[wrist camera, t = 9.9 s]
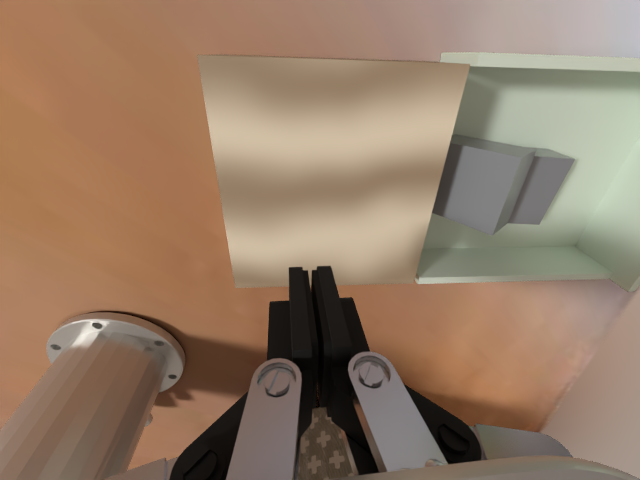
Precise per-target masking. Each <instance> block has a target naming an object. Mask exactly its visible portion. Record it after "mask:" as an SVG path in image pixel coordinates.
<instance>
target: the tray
mask: <svg viewBox="0 0 640 480" xmlns="http://www.w3.org/2000/svg"><path fill="white" fill-rule="evenodd" d="M440 62H445V63H461V64H470V68H469V71H468V75H467V79H466V83H465V87H464V91H463V95H462V98H461V102H460V106H459V110H458V114H457V118H456V122H455V125H454V129H453V133H452V136H453V135H456V134H457V135H462V136H467V137H473V138H478V139H484V140H489V141H494V142H500V143H505V144H511V145H516V146H521V147H532V148H545V149H550V150H553V151H555V152H558V153H561V154H563V155H566V156H569V157H571V158H574V159H575V161H574V162H573V164H572V166H571V168H570V170H569V172H568V173H567V175H566V177H565V179H564V181H563V182H562V184H561V186H560V188H559V190H558V192H557V193H556V195H555V197H554V199H553V201H552V202H551V204H550V206H549V208H548V210H547V212H546V213H545V215H544V217H543V219H542V221H541V222H540V224H539V225H533V224H510V223H507V224H506V225H505V226H504V227H502V228H501V229H500V230H499V231H498V232H496V233H495V234H494V235H493V236H491V235H489V234H486V233H484V232H481V231H478V230H476V229H473V228H470V227H468V226H465V225H463V224H460V223H457V222H455V221H452V220H450V219H447V218H444V217H442V216H439V215H436V214H434V213H432V214H431V218H430V222H429V226H428V229H427V233H426V237H425V241H424V245H423V249H422V252H421V256H420V260H419V264H418V268H417V272H416V276H415V280H416V282H417V284H432V283H472V282H512V281H552V280H592V279H610V280H612V281H613V282H615V283H616V284H617V285H619V286H620V287H622V288H623V289H624V290H626V291H627V292H634V291H635V290H636V289H637V288H638V287H639V285H640V58H620V57H593V56H565V55H538V54H510V53H483V52H456V53H442V55H441V59H440Z"/></svg>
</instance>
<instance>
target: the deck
mask: <svg viewBox="0 0 640 480" xmlns="http://www.w3.org/2000/svg"><path fill="white" fill-rule="evenodd" d="M197 58H198V64H199V70H200V76H201V82H202V88H203V94H204V100H205V106H206V112H207V118H208V125H209V131H210V137H211V143H212V149H213V155H214V161H215V167H216V173H217V179H218V185H219V191H220V198H221V204H222V210H223V216H224V222H225V228H226V234H227V240H228V246H229V252H230V258H231V265H232V271H233V277H234V283H235V288H247V287H287V286H289V267H302V268H303V270H308V275H309V282H310V286H311V277H312V270H317V266H331V268H332V272H333V275H334V279H335V283H336V285H368V284H408V283H414V279H415V276H416V272H417V268H418V264H419V260H420V256H421V252H422V249H423V245H424V241H425V237H426V233H427V229H428V226H429V222H430V218H431V214H432V210H433V206H434V202H435V199H436V195H437V191H438V187H439V183H440V179H441V175H442V172H443V168H444V164H445V160H446V156H447V152H448V149H449V145H450V141H451V137H452V133H453V129H454V125H455V122H456V118H457V114H458V110H459V106H460V102H461V98H462V95H463V91H464V87H465V83H466V79H467V75H468V71H469V68H470V64H461V63H445V62H427V61H398V60H368V59H338V58H308V57H279V56H249V55H197Z"/></svg>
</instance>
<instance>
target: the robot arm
mask: <svg viewBox="0 0 640 480" xmlns="http://www.w3.org/2000/svg"><path fill="white" fill-rule="evenodd" d="M47 355H48V357H49V360H50V362H51V363H52V364H51V366H50V367H49V368H48V370H47V371H46V372H45V373H44V375H43V376H42V377H41V379H40V380H39V381H38V382H37V384H36V385H35V386H34V387H33V389H32V390H31V391H30V393H29V394H28V395H27V396H26V398H25V399H24V400H23V402H22V403H21V404H20V405H19V407H18V408H17V409H16V410H15V412H14V413H13V414H12V416H11V417H10V418H9V419H8V421H7V422H6V423H5V424H4V426H3V427H2V428H1V430H0V480H298V473H299V461H300V448H301V436H302V435H303V433H304V432H305V431H306V430H307V428H308V427H309V426H310V425H311V423H312V409H313V408H316V395H317V384H318V393H319V401H320V407H321V408H324V407H326V411H327V417H331V421H332V422H333V423H335V424H336V425H337V426H338V427H340V428H341V435H342V439H343V442H344V445H345V448H346V451H347V455H348V458H349V461H350V464H351V467H352V471H353V474H354V476H351V477H343V478H335V479H327V480H640V479H639V478H637V477H634V476H632V475H630V474H628V473H625V472H623V471H620V470H618V469H615V468H612V467H609V466H606V465H603V464H600V463H597V462H593V461H588V460H584V459H580V458H573V457H572V455H571V454H570V452H569V451H568V450H567V449H566V448H565V447H564V446H563V445H562V444H560V442H558V441H557V440H555V439H553V438H552V437H550V436H548V435H545V434H541V433H538V432H531V431H524V430H517V429H510V428H503V427H496V426H489V425H482V424H475V426H474V427H472V426H468V425H466V424H465V423H464V422H463V421H461V420H460V419H458V418H457V417H455V416H454V415H452V414H450V413H449V412H447V411H446V410H444V409H443V408H441V407H439V406H438V405H436V404H435V403H433V402H431V401H430V400H428V399H427V398H425V397H423V396H422V395H420V394H419V393H417V392H415V391H414V390H412V389H411V388H409V387H408V386H406V385H404V384H403V383H402V381H401V379H400V377H399V375H398V374H397V372H396V370H395V368H394V366H393V365H392V364H391V362H390V361H389V360H388V359H386V358H385V357H384V356H382V355H380V354H378V353H374V352H370V350H369V347H368V344H367V341H366V338H365V334H364V331H363V328H362V325H361V322H360V319H359V316H358V313H357V310H356V306H355V303H354V301H353V298H352V297H350V298H339V294H338V291H337V287H336V283H335V279H334V275H333V272H332V268H331V266H317V270H312V277H311V289H310V282H309V275H308V270H303V268H302V267H289V301H272V302H270V306H269V328H268V351H267V361H266V362H264V363H263V364H261V365H260V366H259V367H258V368H257V369H256V371H255V372H254V375H253V377H252V380H251V384H250V388H249V391H248V392H247V393H246V394H245V395H244V396H243V397H241V398H240V399H239V400H238V401H237V402H236V403H235V404H234V405H233V406H232V407H231V408H230V409H228V410H227V411H226V412H225V413H224V414H223V415H222V416H221V417H220V418H219V419H218V420H217V421H215V422H214V423H213V424H212V425H211V426H210V427H209V428H208V429H207V430H206V431H205V432H203V433H202V434H201V435H200V436H199V437H198V438H197V439H196V440H195V441H194V442H193V443H192V444H190V445H189V446H188V447H187V448H186V449H185V450H184V451H183V453H182V454H181V455H180V456H179V457H176V458H173V459H171V460H168V461H166V458H163V459H160V460H157V461H154V462H151V463H148V464H145V465H142V466H140V467H137V468H134V469H131V470H128V471H127V469H128V467H129V464H130V462H131V459H132V457H133V454H134V452H135V449H136V447H137V444H138V442H139V439H140V437H141V435H142V432H143V430H144V427H145V426H148V425H149V424H150V423H151V421H152V419H153V417H152V415H151V413H150V412H151V410H152V407H153V405H154V402H155V400H156V397H157V395H158V393H160V392H162V391H164V390H167V389H169V388H170V387H172V386H173V385H174V384H175V383H176V382H177V381H178V380H179V379H180V377H181V375H182V373H183V369H184V366H185V354H184V351H183V349H182V347H181V346H180V344H179V343H178V341H177V340H176V339H175V338H174V337H173V336H172V335H171V334H169V333H168V332H167V331H165V330H164V329H162V328H161V327H159V326H157V325H155V324H153V323H151V322H149V321H146V320H144V319H141V318H138V317H134V316H130V315H126V314H119V313H111V312H96V313H88V314H82V315H79V316H76V317H73V318H71V319H69V320H67V321H65V322H63V323H62V324H61V325H60V326H59V327H58V328H57V329H56V330H55V331H54V333H53V334H52V335H51V336H50V338H49V339H48V342H47Z"/></svg>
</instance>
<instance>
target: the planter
mask: <svg viewBox="0 0 640 480" xmlns="http://www.w3.org/2000/svg"><path fill="white" fill-rule="evenodd" d="M351 476H354V474H353V471H352V467H351V464H350V461H349V458H348V455H347V451H346V448H345V445H344V442H343V439H342V435H341V428H340V427H338V426H337V425H336V424H335V423H333V422H332V421H331V417H327V411H326V407H324V408H321V407H318V408H315V409H312V423H311V425H310V426H309V427H308V428H307V430H306V431H305V432H304V433H303V435H302V436H301V448H300V461H299V473H298V480H327V479H335V478H343V477H351Z"/></svg>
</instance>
